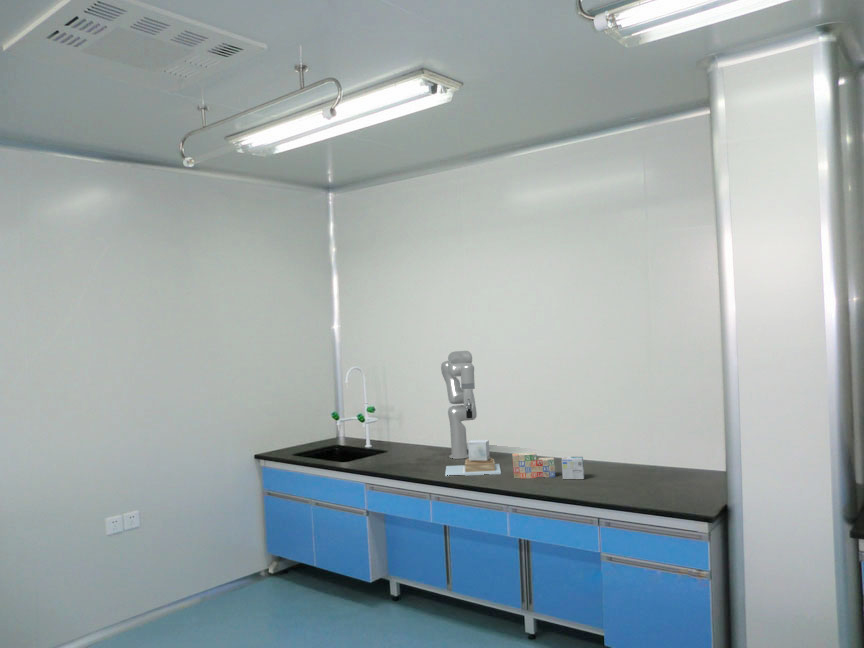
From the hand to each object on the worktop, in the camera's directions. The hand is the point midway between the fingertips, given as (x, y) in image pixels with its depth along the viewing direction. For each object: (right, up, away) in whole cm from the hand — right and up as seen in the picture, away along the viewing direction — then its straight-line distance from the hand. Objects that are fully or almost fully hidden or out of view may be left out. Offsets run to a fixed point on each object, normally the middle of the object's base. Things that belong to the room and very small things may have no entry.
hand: (469, 416), depth 386 cm
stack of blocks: (+32, -28, -30) cm, 52 cm away
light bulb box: (+51, -27, -38) cm, 69 cm away
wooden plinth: (+6, -29, -8) cm, 30 cm away
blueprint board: (+2, -29, -8) cm, 30 cm away
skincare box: (+5, -23, -8) cm, 25 cm away
